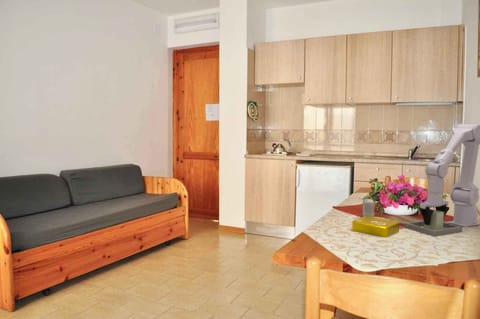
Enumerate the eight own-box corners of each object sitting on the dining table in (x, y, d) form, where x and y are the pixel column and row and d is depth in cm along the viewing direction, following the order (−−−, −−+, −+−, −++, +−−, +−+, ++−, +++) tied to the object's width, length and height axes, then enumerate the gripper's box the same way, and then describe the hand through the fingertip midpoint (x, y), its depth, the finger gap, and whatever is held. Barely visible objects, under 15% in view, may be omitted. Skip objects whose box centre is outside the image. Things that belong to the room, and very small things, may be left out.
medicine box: (374, 221, 175) (374, 202, 175) (363, 220, 176) (364, 202, 175) (371, 217, 183) (372, 199, 182) (362, 216, 184) (362, 198, 183)
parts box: (430, 227, 166) (431, 209, 165) (442, 231, 160) (443, 212, 160) (423, 228, 164) (424, 209, 163) (436, 232, 159) (437, 212, 158)
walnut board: (404, 216, 184) (404, 214, 184) (426, 222, 173) (426, 220, 173) (382, 219, 178) (382, 217, 178) (403, 226, 167) (403, 223, 167)
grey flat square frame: (432, 223, 172) (432, 219, 172) (462, 231, 160) (462, 226, 159) (404, 227, 165) (405, 223, 165) (433, 236, 152) (433, 231, 152)
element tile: (400, 231, 161) (401, 220, 160) (386, 238, 150) (386, 226, 150) (366, 224, 171) (366, 214, 171) (350, 231, 160) (350, 219, 160)
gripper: (438, 189, 167) (436, 220, 169) (414, 191, 161) (413, 223, 163) (453, 191, 161) (451, 223, 162) (429, 194, 155) (427, 227, 156)
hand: (433, 224), depth 162 cm, fingers open, 7 cm apart
